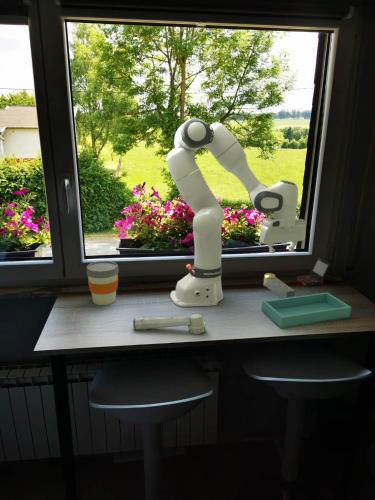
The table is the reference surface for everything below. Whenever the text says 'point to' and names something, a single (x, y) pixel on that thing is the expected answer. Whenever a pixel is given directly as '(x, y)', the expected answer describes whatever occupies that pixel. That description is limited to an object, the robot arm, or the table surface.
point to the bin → (305, 310)
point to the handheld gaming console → (315, 273)
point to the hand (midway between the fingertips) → (281, 251)
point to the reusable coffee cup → (103, 281)
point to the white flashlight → (171, 323)
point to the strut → (278, 286)
